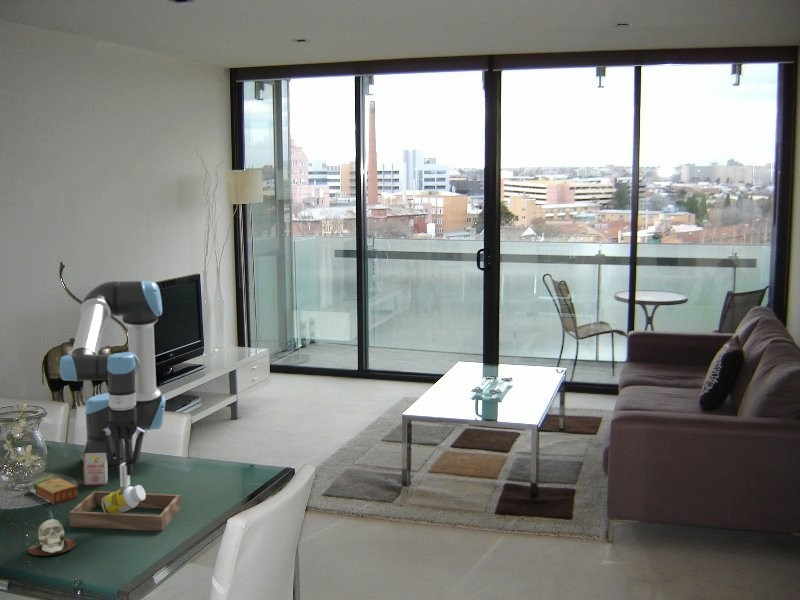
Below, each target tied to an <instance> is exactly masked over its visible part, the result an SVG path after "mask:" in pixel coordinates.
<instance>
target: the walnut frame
mask: <svg viewBox="0 0 800 600" xmlns="http://www.w3.org/2000/svg"><path fill="white" fill-rule="evenodd" d="M113 492H114V491H105V490H104V491H102V490H101V491H99V490H93V491H92V492H91V493H89V494H88V496H86V497H85V498H84V499H83V500H82V501H81V502H79V503H78V504H77V505H76V506H75V507H74V508H73V509H71V510H70V511H69V512H68V520H69V522H68V523H69V527H70V528H71V527H72V528H90V529H91V528H92V529H93V528H94V529H110V530H111V529H116V530H117V529H118V530H135V531H136V530H139V531H158V532H161V531H163V530H164V529H165V528H166V527H167V526H168V524H169V523H170V522H171V521H172V519H174V517H175V516H176V515H177V514H178V513H179V511H180V510H181V509H182V495H181V494H172V493H171V494H170V493H169V494H168V493H150V492H149V493H147V492H145V493H146V498H145V499H144V500H143V501H140V502H139V503H138V505H137V506H136V507H135V508H139V507H143V508H145V509H161V510H162V509H163V510H162V512H161V513H160V514H142V513H141V514H138V513H105V512H97V511H95V512H94V511H91V510H93V509H94V508H96V507H98V506H99V507H102V499H103V498H104V497H105V496H106V495H109V494H111V493H113ZM143 508H142V509H143Z"/></svg>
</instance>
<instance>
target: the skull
mask: <svg viewBox="0 0 800 600" xmlns="http://www.w3.org/2000/svg"><path fill="white" fill-rule="evenodd" d="M37 533H38V540H39V543H40V544H41V546H40V545H38V546H32V545H31V546H32V547H31V546H30V547H28V549H27V552H28V553H29V554H31V555H34V556H52V555H58V554H62V553H65V552H67V551H70V550H72V549H73V548H75V547H76V546H77V543H76V541H75V540H73V539H71V538H70V539H69V538H65V530H64V525H63V524H62V523H61V522H60V520H58V519H53V518H52V519H47V520H45V521H43V522H42V523H41V524H40V525H39V528H38V531H37Z"/></svg>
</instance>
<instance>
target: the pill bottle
mask: <svg viewBox="0 0 800 600" xmlns="http://www.w3.org/2000/svg"><path fill="white" fill-rule="evenodd" d="M112 492H113V493H111V494H109V495H106V496H105V497H104V498H103V499H102V506H101V508H102V510H103V513H121V514H123V513H124V512H127V511H129V510H131V509H134V508H137V507H136V506H137V505H138V503H139V502H140V501H143V500H144V499H145V498H146V493H147V492H146V490H145V489H144V487H143V486H142V485H141V484H137V485H135V486H132V485H129V486H128V487H121V488H119V489H118V490H115V491H112Z"/></svg>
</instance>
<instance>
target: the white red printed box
mask: <svg viewBox="0 0 800 600" xmlns="http://www.w3.org/2000/svg"><path fill="white" fill-rule="evenodd" d="M108 467H109V466H107V458H106V453H84V463H83V468H82V469H83V485H84V486H97V485H98V486H99V485H103V486H104V485H106V484H108V482H109V476H108V474H109V473H108Z"/></svg>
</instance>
